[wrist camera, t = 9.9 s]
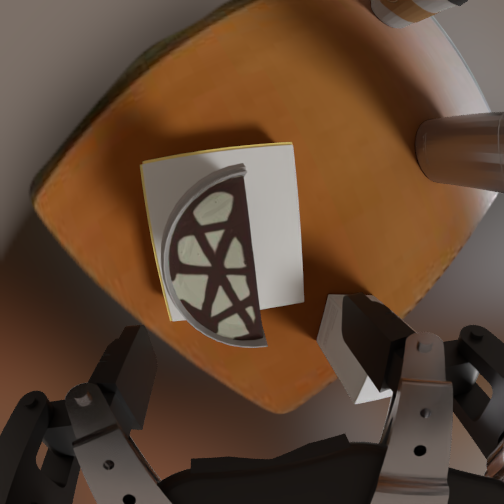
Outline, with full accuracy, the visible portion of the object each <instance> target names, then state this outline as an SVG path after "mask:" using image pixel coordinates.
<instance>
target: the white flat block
mask: <svg viewBox="0 0 504 504" xmlns="http://www.w3.org/2000/svg"><path fill="white" fill-rule="evenodd" d="M142 162H143V164H142V165H140V171H141V179H142V186H143V193H144V200H145V206H146V212H147V218H148V224H149V230H150V235H151V240H152V245H153V250H154V255H155V260H156V265H157V269H158V274H159V278H160V282H161V286H162V291H163V295H164V299H165V303H166V307H167V310H168V314H169V318H170V321H171V320H172V321H180V320H186V319H185V318H184V317H183V316H182V315H181V313H180V312H179V311H178V309H177V308H176V307H175V305H174V304H173V302H172V300H171V298H170V296H169V294H168V292H167V289H166V286H165V283H164V280H163V275H162V268H161V242H162V237H163V232H164V228H165V225H166V223H167V220H168V218H169V215H170V213H171V212H172V210H173V208H174V207H175V205H176V203H177V202H178V201H179V199H180V198H181V197H182V196H183V195H184V194H185V192H186V191H187V190H188V189H189V188H191V187H192V186H193V185H194V184H195V183H196V182H198V181H199V180H200V179H202V178H204V177H205V176H207V175H209V174H210V173H212V172H214V171H217V170H219V169H222V168H225V167H227V166H231V165H236V164H240V163H243V164H244V165H245V167H246V171H247V173H246V175H245V176H244V182H245V189H246V197H247V205H248V213H249V221H250V230H251V239H252V247H253V255H254V262H255V271H256V280H257V289H258V297H259V305H260V310H261V309H267V308H273V307H279V306H285V305H291V304H296V303H302V302H304V284H303V263H302V245H301V230H300V216H299V203H298V191H297V180H296V170H295V160H294V151H293V145H292V142H283V143H268V144H256V145H245V146H235V147H227V148H219V149H211V150H204V151H197V152H190V153H184V154H178V155H172V156H167V157H162V158H156V159H151V160H146V161H142Z"/></svg>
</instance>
